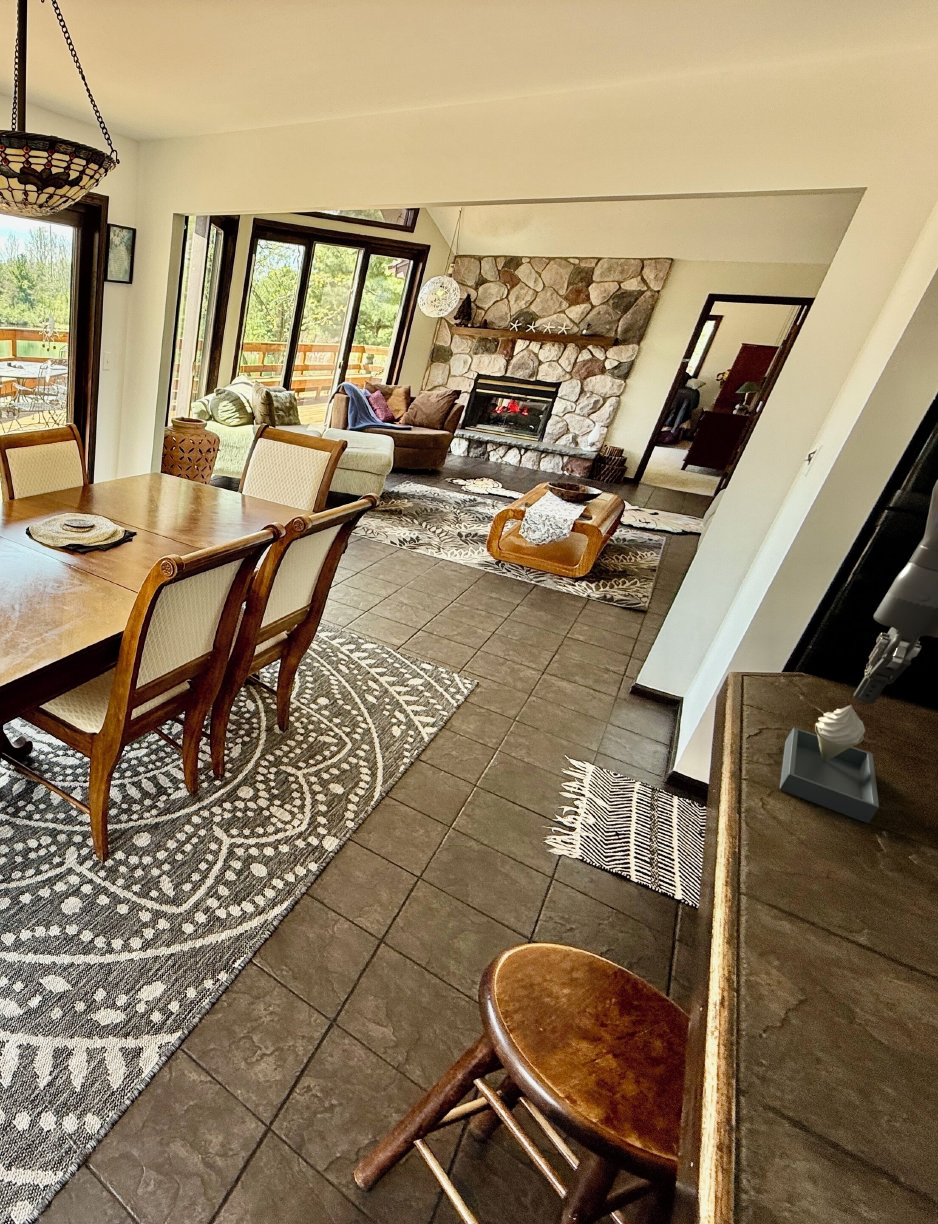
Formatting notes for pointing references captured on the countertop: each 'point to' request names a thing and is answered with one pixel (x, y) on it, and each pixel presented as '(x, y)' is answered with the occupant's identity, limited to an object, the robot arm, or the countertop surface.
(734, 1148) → the countertop surface
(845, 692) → the countertop surface
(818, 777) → the tray
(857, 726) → the ice cream cone
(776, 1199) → the countertop surface
